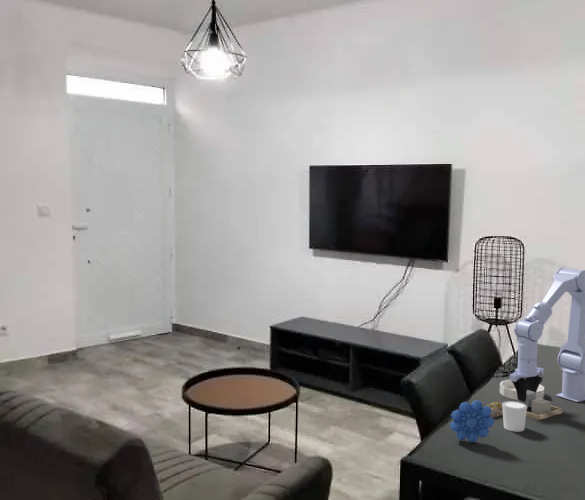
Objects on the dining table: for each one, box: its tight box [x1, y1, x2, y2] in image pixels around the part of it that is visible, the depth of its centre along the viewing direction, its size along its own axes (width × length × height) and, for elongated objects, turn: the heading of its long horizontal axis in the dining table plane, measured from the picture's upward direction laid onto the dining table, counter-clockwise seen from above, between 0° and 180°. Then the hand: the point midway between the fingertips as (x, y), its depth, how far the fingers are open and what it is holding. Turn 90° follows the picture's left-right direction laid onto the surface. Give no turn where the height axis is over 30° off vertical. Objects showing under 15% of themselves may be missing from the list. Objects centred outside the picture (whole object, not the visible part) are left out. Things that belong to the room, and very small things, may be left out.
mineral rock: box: [482, 400, 503, 419], centre depth 185 cm, size 11×4×8 cm
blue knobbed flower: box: [449, 399, 495, 444], centre depth 163 cm, size 12×7×12 cm, turn 70°
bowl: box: [499, 379, 545, 401], centre depth 203 cm, size 14×14×3 cm
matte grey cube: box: [516, 390, 536, 408], centre depth 190 cm, size 4×4×4 cm
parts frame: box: [526, 404, 563, 421], centre depth 187 cm, size 12×12×1 cm
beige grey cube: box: [530, 398, 552, 415], centre depth 185 cm, size 4×4×4 cm
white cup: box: [502, 400, 528, 433], centre depth 173 cm, size 7×7×7 cm
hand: (526, 399), depth 190 cm, fingers closed on matte grey cube, 4 cm apart
